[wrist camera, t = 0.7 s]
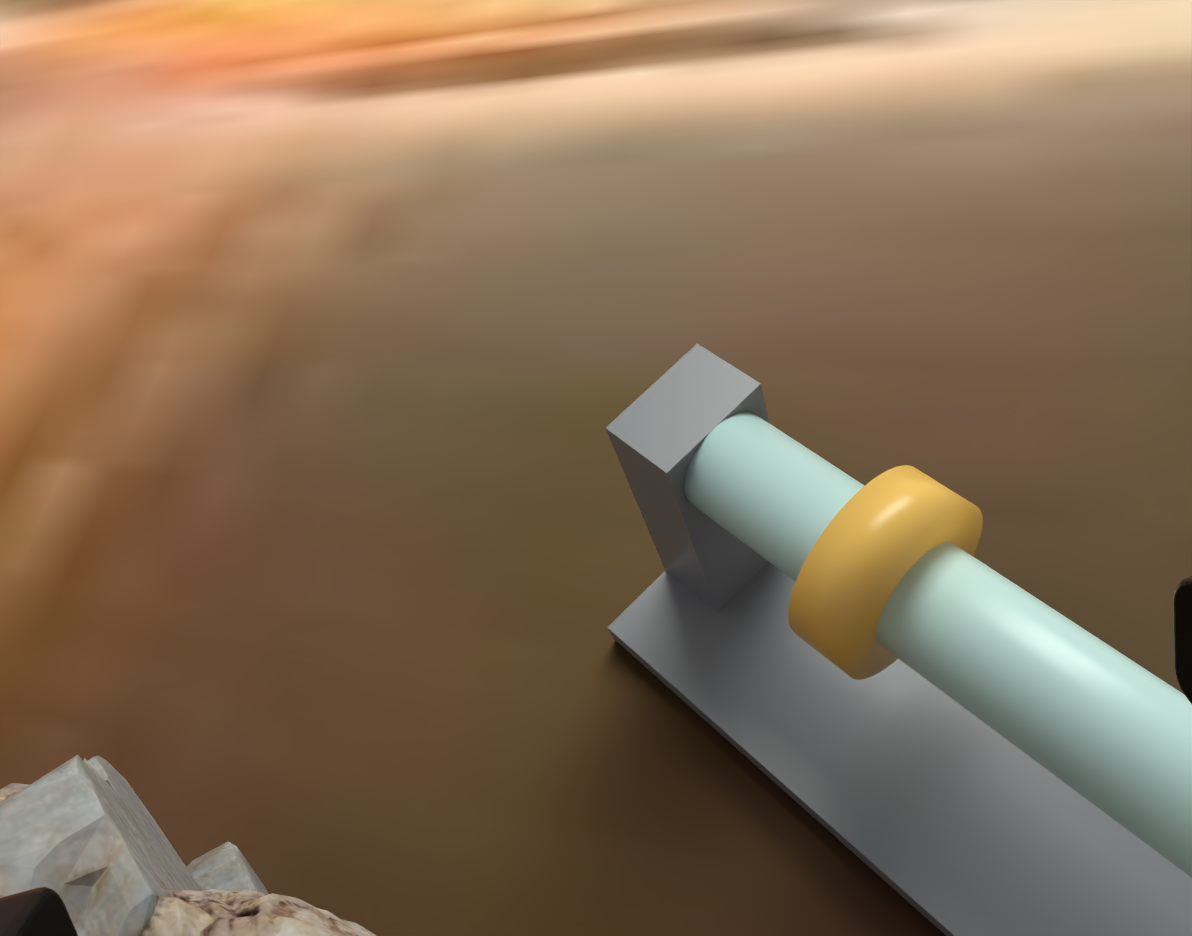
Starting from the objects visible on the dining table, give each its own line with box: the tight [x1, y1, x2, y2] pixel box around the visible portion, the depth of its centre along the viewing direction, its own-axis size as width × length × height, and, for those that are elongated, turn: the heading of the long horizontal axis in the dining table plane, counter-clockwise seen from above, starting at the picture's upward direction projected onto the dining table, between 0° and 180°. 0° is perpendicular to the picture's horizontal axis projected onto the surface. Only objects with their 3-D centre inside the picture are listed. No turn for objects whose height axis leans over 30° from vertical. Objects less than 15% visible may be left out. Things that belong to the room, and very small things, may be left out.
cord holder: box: [606, 344, 1192, 936], centre depth 17 cm, size 19×6×7 cm, turn 43°
